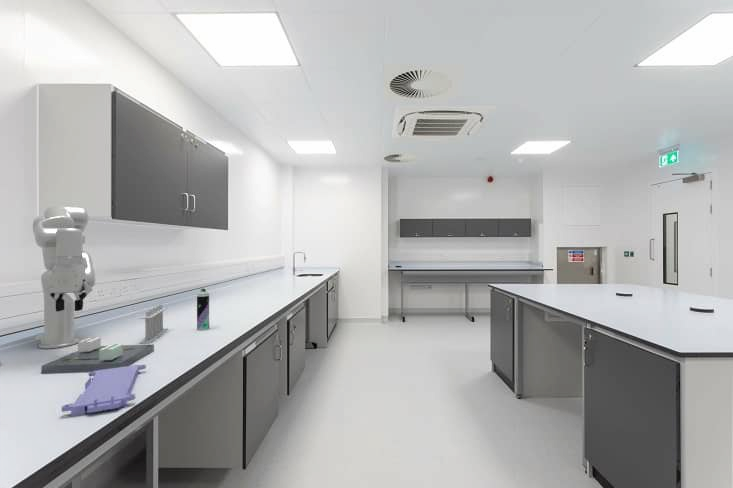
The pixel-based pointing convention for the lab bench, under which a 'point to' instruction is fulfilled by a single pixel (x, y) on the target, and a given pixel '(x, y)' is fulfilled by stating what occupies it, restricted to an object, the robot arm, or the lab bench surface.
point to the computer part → (106, 390)
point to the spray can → (203, 310)
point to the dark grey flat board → (96, 360)
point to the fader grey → (89, 344)
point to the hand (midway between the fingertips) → (69, 310)
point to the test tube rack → (153, 324)
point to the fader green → (111, 352)
